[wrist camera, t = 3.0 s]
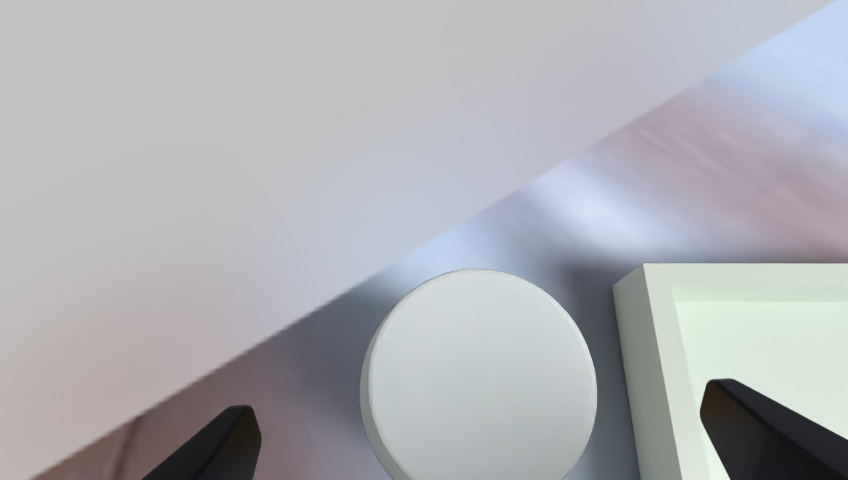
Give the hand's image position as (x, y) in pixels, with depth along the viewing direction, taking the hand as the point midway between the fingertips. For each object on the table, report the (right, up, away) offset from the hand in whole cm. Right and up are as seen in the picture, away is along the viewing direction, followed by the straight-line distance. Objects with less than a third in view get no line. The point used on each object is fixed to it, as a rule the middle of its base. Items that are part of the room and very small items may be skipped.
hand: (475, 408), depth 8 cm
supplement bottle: (0, -3, +8) cm, 8 cm away
